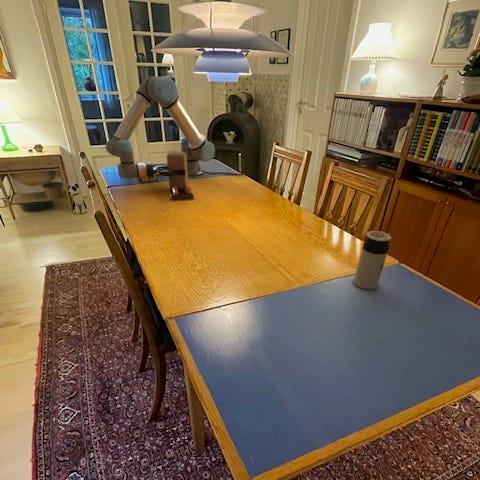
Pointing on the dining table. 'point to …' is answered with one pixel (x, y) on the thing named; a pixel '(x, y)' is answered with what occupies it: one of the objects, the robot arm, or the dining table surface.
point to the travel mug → (372, 259)
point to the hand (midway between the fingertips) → (184, 169)
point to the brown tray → (181, 193)
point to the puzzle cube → (147, 176)
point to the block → (177, 163)
